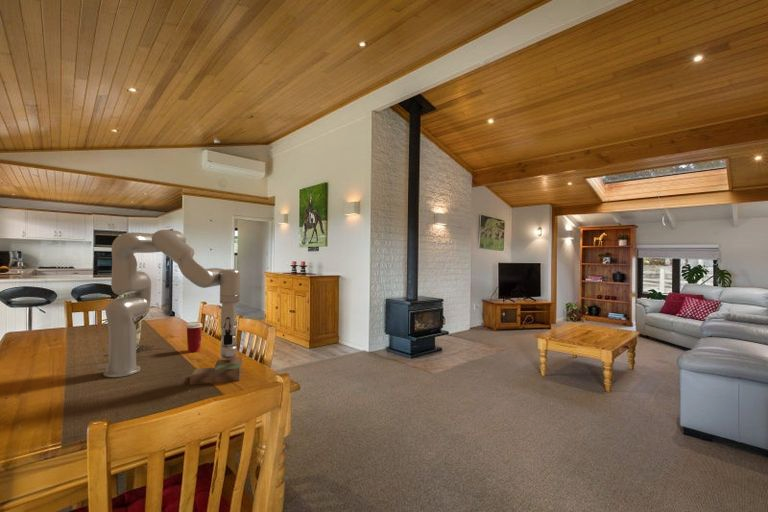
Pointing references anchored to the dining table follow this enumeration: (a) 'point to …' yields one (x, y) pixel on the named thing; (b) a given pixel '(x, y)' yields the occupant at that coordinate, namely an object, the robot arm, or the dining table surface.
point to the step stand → (219, 372)
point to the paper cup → (194, 336)
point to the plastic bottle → (229, 350)
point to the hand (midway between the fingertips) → (228, 342)
